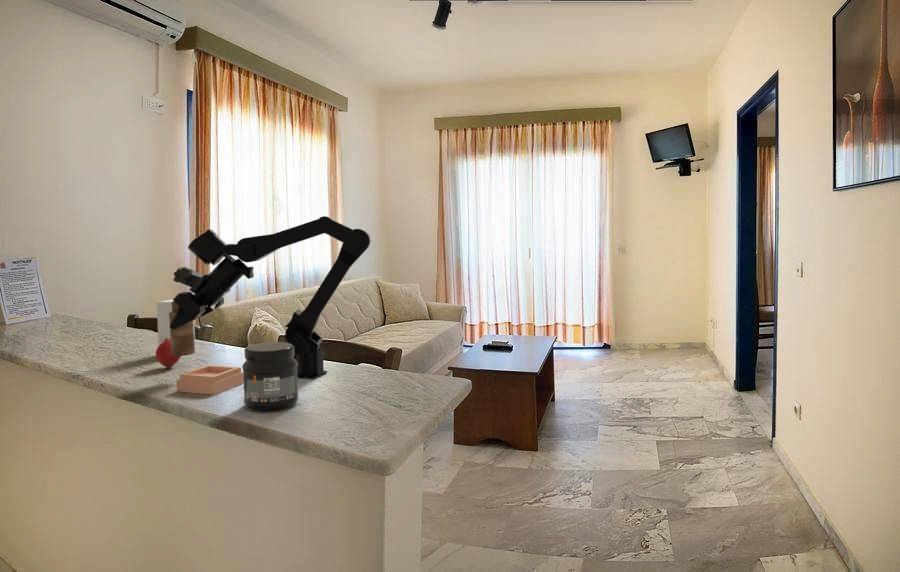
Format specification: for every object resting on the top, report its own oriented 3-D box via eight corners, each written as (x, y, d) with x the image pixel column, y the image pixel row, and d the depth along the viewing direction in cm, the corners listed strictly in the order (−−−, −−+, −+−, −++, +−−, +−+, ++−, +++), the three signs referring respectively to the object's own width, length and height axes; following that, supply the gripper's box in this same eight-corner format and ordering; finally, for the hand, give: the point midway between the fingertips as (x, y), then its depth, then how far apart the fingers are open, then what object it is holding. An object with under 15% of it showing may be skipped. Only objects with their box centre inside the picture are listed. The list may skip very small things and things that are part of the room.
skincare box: (177, 357, 157) (175, 302, 155) (157, 356, 158) (154, 301, 157) (196, 351, 165) (194, 298, 164) (177, 350, 166) (174, 298, 165)
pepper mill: (199, 351, 134) (196, 300, 133) (184, 356, 130) (181, 302, 128) (182, 350, 136) (179, 299, 134) (166, 355, 131) (163, 302, 130)
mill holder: (244, 382, 130) (244, 367, 129) (215, 394, 120) (214, 377, 120) (208, 379, 132) (207, 364, 132) (177, 391, 123) (176, 374, 123)
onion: (156, 366, 145) (154, 336, 145) (181, 364, 148) (179, 334, 147) (156, 371, 140) (154, 340, 140) (181, 369, 143) (180, 338, 142)
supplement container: (275, 394, 120) (273, 339, 119) (309, 402, 114) (308, 345, 113) (232, 407, 111) (230, 348, 110) (267, 417, 105) (265, 354, 104)
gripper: (208, 253, 140) (165, 298, 140) (180, 256, 122) (130, 308, 121) (242, 284, 142) (199, 328, 141) (219, 292, 123) (170, 342, 123)
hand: (175, 326), depth 132 cm, fingers closed on pepper mill, 5 cm apart
